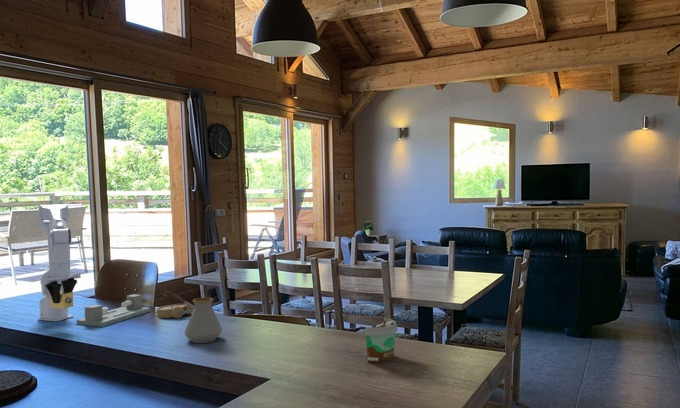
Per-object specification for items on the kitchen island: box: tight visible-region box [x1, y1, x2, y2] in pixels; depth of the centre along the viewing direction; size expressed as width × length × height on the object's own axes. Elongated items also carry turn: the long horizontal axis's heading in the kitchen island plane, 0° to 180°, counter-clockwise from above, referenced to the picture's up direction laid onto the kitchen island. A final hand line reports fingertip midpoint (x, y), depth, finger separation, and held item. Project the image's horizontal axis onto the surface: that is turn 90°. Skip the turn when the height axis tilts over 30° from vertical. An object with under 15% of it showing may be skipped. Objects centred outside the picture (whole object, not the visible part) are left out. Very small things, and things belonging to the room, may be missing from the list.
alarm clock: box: [154, 303, 194, 320], centre depth 192 cm, size 11×5×15 cm
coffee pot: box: [162, 290, 223, 344], centre depth 161 cm, size 21×12×15 cm, turn 67°
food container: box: [364, 317, 398, 364], centre depth 138 cm, size 12×6×10 cm, turn 148°
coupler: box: [50, 291, 74, 309], centre depth 175 cm, size 4×7×5 cm, turn 70°
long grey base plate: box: [76, 294, 151, 328], centre depth 190 cm, size 12×24×6 cm, turn 160°
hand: (61, 301), depth 175 cm, fingers closed on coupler, 4 cm apart
